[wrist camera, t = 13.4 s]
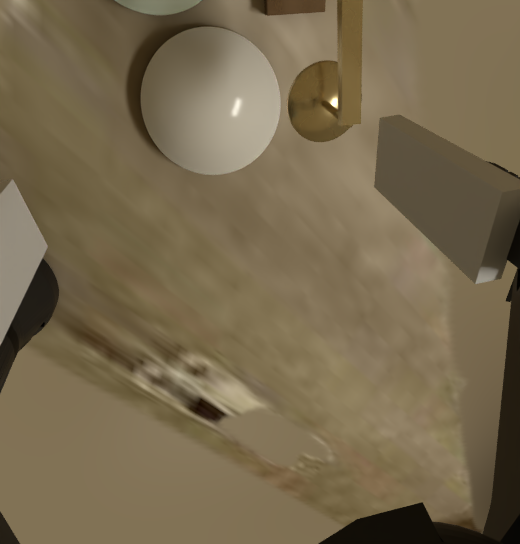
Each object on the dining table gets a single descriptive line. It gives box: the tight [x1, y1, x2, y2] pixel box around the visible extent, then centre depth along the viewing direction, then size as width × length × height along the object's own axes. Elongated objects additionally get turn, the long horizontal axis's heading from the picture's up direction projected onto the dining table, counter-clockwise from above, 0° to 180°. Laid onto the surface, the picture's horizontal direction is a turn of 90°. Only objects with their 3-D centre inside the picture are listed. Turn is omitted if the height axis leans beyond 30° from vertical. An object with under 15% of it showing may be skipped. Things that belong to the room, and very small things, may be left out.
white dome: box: [141, 27, 281, 175], centre depth 37 cm, size 13×13×1 cm
